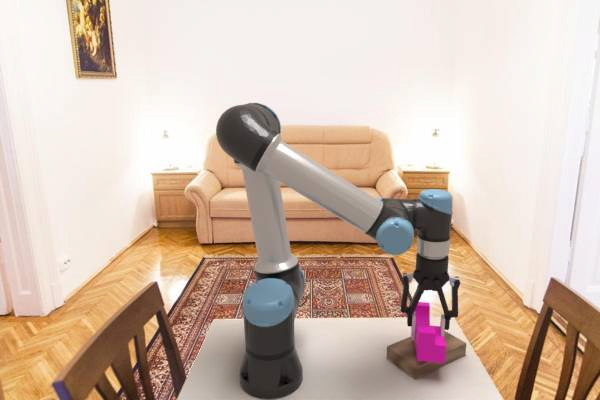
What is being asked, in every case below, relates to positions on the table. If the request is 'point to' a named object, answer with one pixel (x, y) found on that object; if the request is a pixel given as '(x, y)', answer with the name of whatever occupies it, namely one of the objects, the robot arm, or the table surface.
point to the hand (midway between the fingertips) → (426, 338)
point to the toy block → (428, 336)
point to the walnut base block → (407, 361)
